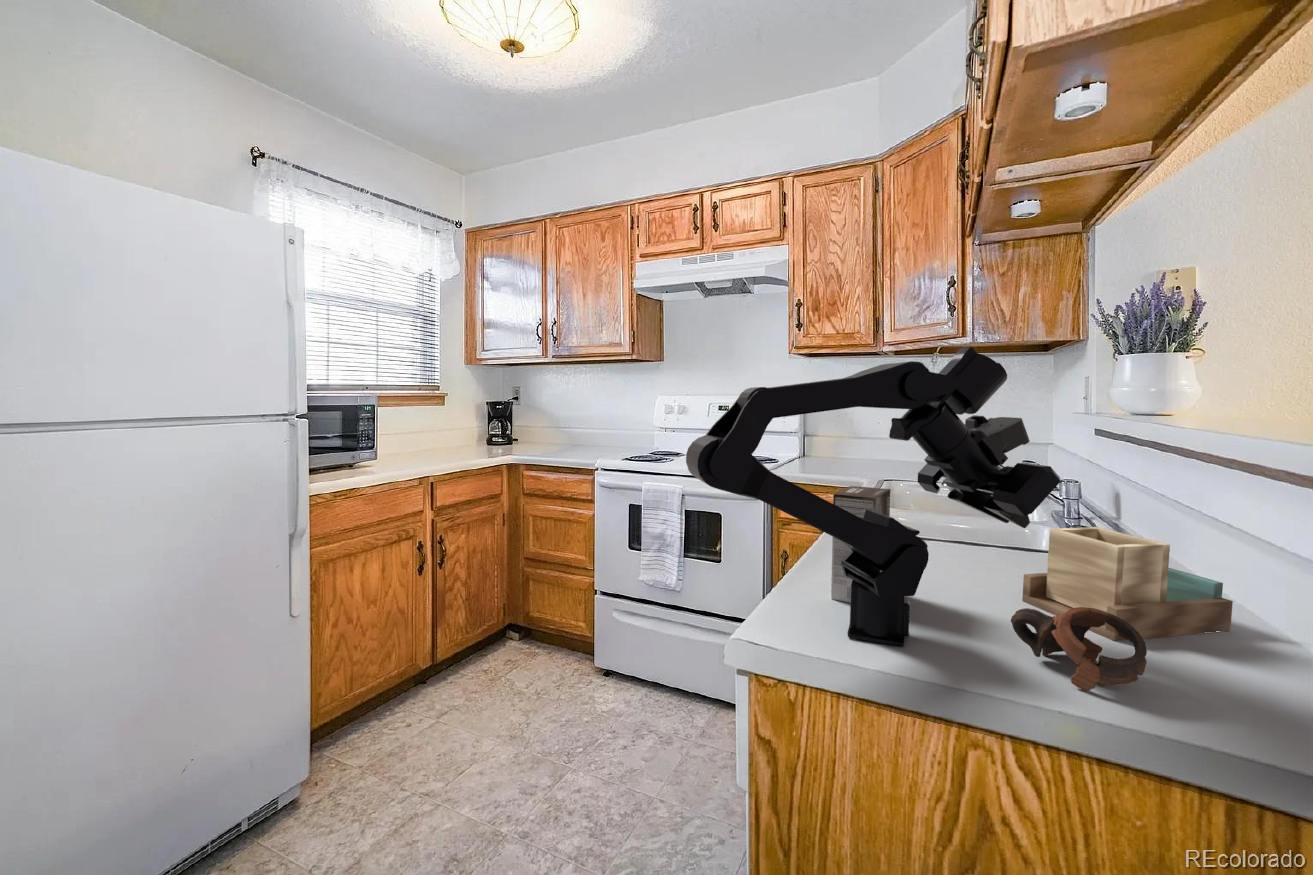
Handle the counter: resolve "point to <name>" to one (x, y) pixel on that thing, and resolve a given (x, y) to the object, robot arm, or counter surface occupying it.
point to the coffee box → (857, 504)
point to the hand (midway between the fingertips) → (1017, 522)
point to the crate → (1105, 568)
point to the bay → (1154, 607)
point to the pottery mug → (1082, 644)
